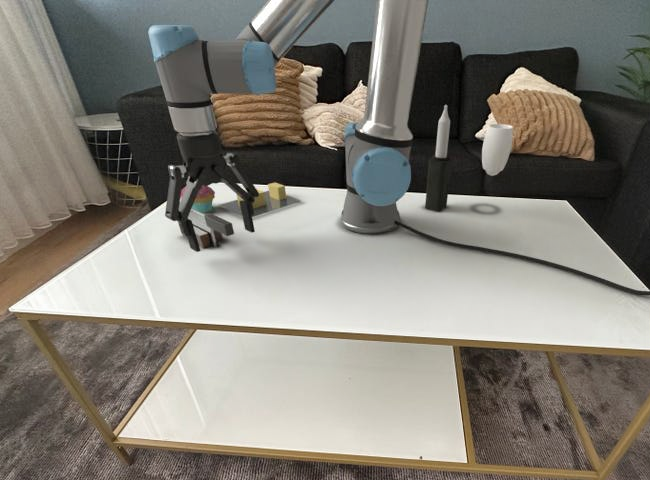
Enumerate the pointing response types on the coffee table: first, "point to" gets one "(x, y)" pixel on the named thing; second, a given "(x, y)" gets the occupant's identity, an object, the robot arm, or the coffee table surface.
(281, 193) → the butter pat
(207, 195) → the cupcake
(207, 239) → the chocolate bar
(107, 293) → the coffee table surface
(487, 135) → the cup
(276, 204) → the plate
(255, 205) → the butter
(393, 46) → the robot arm
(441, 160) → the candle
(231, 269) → the coffee table surface
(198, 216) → the cleaver
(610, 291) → the coffee table surface
